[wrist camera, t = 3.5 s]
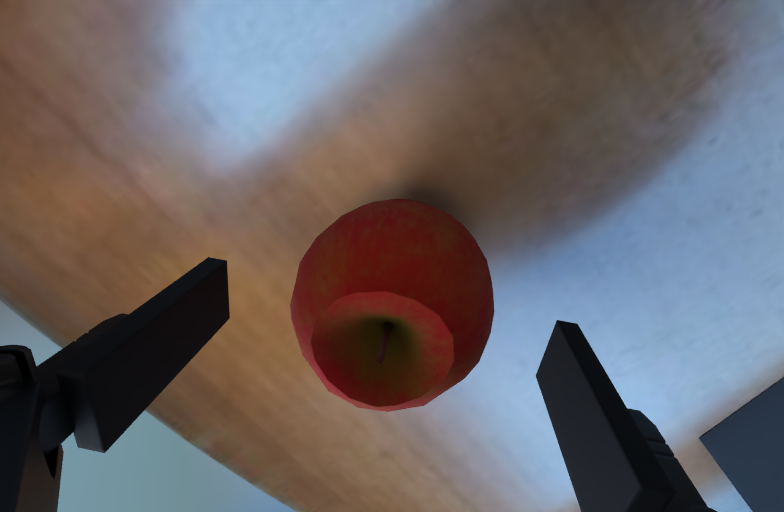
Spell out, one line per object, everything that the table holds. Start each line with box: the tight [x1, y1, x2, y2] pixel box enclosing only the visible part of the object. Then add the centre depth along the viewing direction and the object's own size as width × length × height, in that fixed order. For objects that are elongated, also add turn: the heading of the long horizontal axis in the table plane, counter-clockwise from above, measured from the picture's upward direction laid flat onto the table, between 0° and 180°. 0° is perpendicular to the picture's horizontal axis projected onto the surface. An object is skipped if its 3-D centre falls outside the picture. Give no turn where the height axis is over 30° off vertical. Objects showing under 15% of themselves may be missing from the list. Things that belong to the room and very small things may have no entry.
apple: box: [290, 199, 494, 412], centre depth 17 cm, size 9×8×11 cm
